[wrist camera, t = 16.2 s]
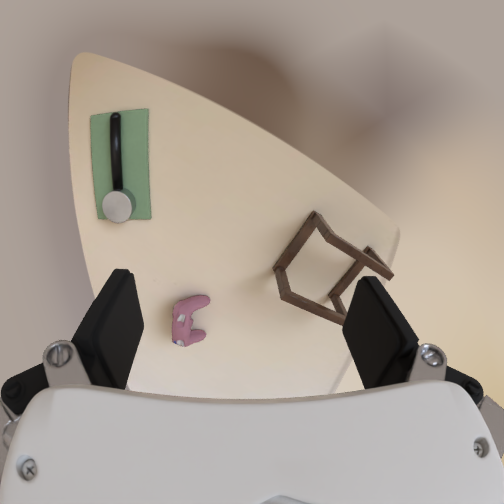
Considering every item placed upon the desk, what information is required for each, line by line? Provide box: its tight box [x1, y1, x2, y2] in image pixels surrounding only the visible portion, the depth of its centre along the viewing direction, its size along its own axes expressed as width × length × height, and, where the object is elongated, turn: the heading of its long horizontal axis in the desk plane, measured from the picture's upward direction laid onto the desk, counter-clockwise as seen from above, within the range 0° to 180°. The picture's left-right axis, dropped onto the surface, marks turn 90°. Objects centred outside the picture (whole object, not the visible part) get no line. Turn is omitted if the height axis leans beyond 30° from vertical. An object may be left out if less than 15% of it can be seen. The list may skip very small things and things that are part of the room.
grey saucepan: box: [102, 112, 136, 223], centre depth 33 cm, size 16×5×2 cm, turn 176°
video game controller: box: [172, 295, 210, 347], centre depth 45 cm, size 10×5×7 cm, turn 169°
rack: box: [273, 211, 394, 326], centre depth 40 cm, size 11×13×8 cm
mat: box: [91, 109, 151, 219], centre depth 34 cm, size 16×9×1 cm, turn 176°
